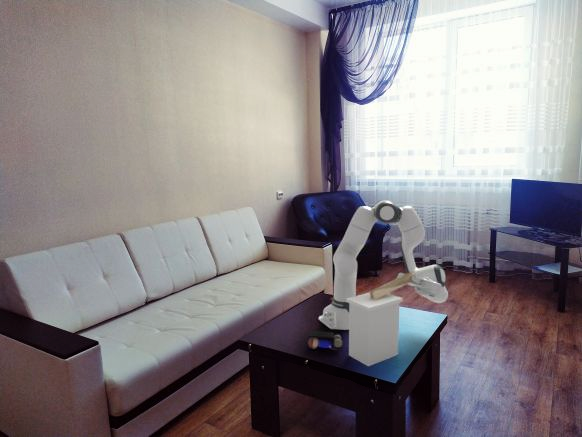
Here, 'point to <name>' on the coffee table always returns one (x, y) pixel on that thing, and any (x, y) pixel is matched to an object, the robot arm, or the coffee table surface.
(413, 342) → the coffee table surface
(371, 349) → the pedestal
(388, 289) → the beech bar
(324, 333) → the figurine character
